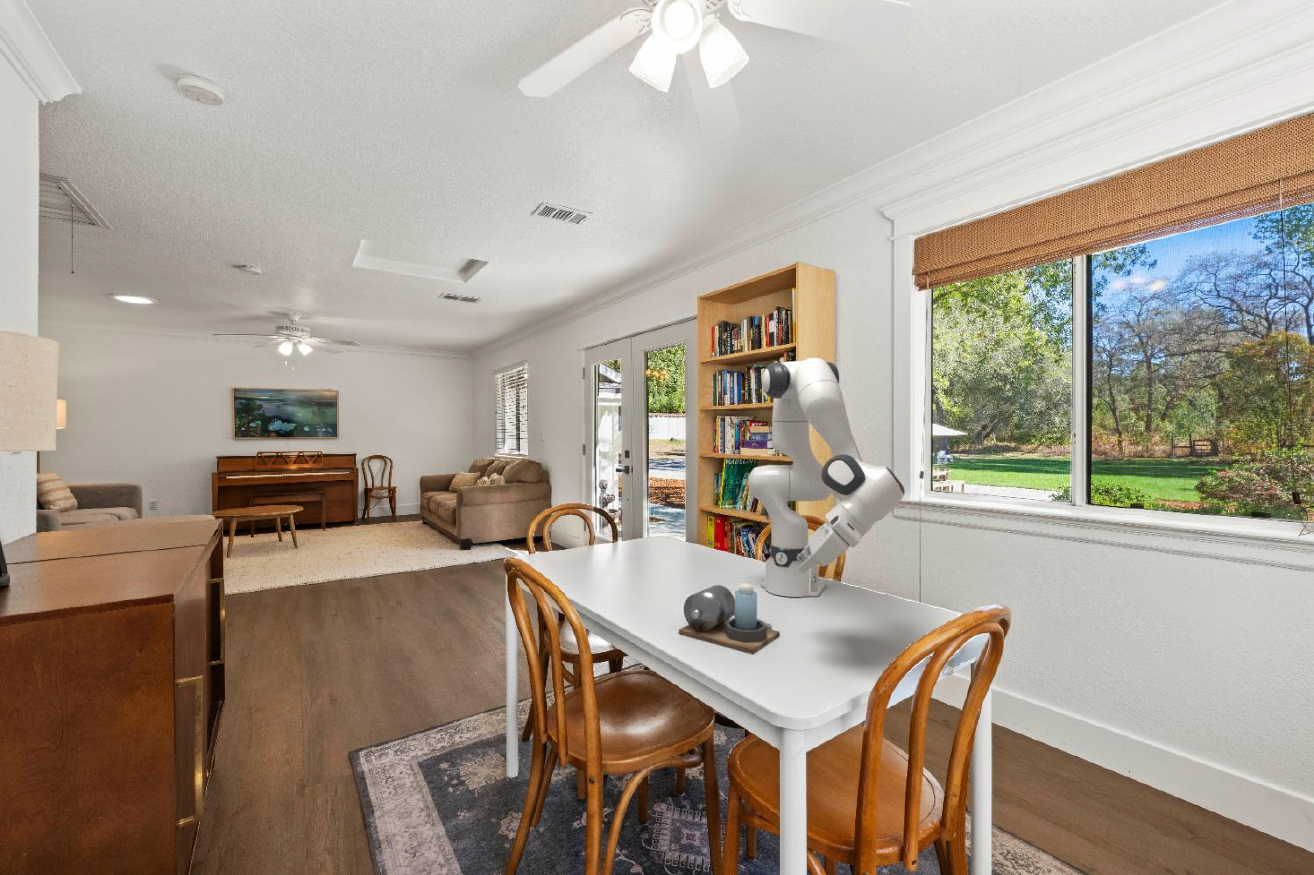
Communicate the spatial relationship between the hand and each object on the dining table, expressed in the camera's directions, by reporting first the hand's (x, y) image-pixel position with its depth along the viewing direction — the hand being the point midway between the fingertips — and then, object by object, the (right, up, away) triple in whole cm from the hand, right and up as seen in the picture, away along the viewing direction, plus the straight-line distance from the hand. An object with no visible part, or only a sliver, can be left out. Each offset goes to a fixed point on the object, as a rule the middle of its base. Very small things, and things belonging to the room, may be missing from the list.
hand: (799, 565), depth 129 cm
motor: (-21, -17, +8) cm, 28 cm away
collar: (-12, -18, +3) cm, 22 cm away
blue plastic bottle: (-12, -17, +3) cm, 21 cm away
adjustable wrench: (-12, -19, +20) cm, 30 cm away
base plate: (-16, -18, +6) cm, 25 cm away
